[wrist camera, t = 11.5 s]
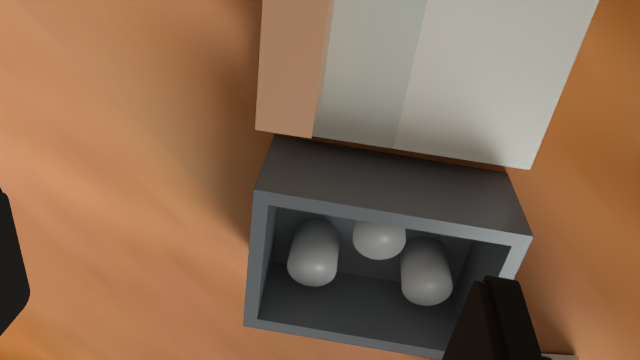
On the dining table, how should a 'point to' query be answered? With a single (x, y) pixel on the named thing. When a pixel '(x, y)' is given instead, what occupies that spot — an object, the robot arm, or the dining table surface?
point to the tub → (375, 245)
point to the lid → (419, 73)
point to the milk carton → (561, 357)
